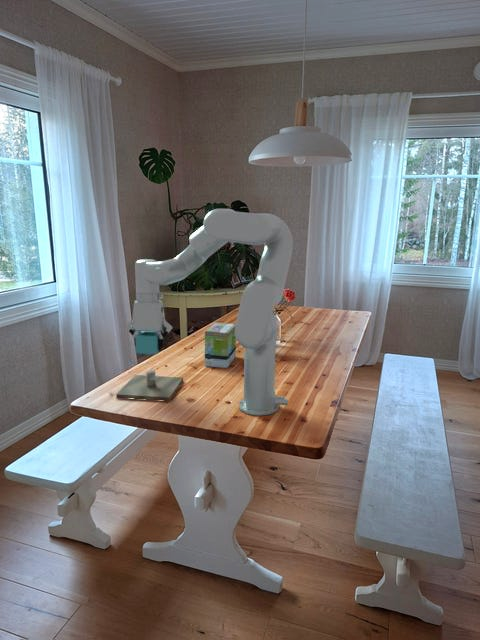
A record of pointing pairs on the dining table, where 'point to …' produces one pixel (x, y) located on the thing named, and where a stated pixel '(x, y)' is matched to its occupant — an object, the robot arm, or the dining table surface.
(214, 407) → the dining table surface
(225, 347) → the tea box
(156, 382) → the post board
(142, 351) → the collar
